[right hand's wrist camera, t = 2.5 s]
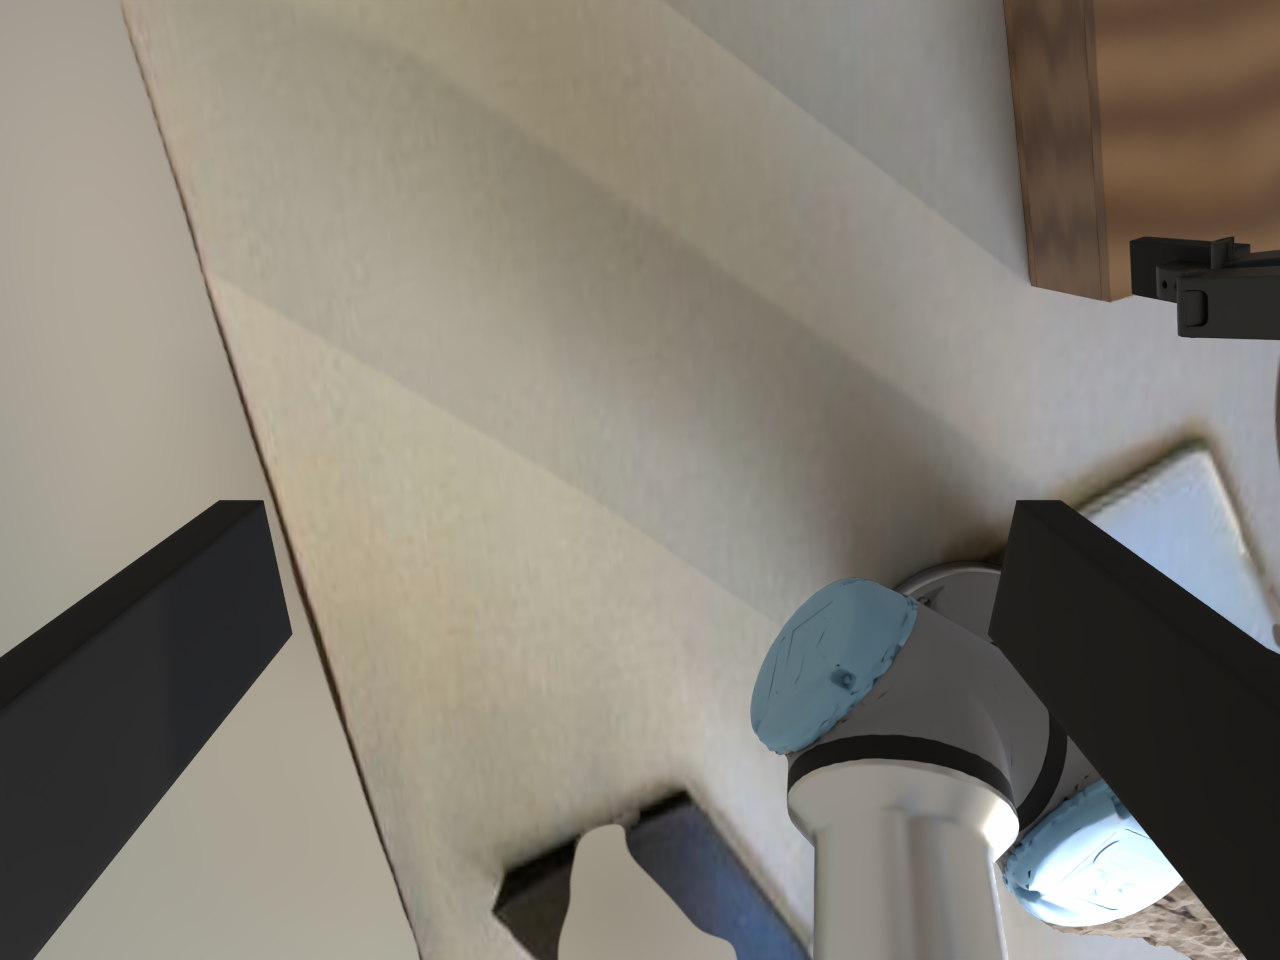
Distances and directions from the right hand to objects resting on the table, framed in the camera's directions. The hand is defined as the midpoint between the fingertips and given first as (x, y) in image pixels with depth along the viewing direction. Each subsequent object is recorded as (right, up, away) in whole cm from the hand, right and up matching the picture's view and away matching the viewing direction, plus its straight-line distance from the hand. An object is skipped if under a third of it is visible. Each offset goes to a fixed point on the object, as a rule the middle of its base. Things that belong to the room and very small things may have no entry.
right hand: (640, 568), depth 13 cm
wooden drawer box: (+30, +25, +34) cm, 51 cm away
